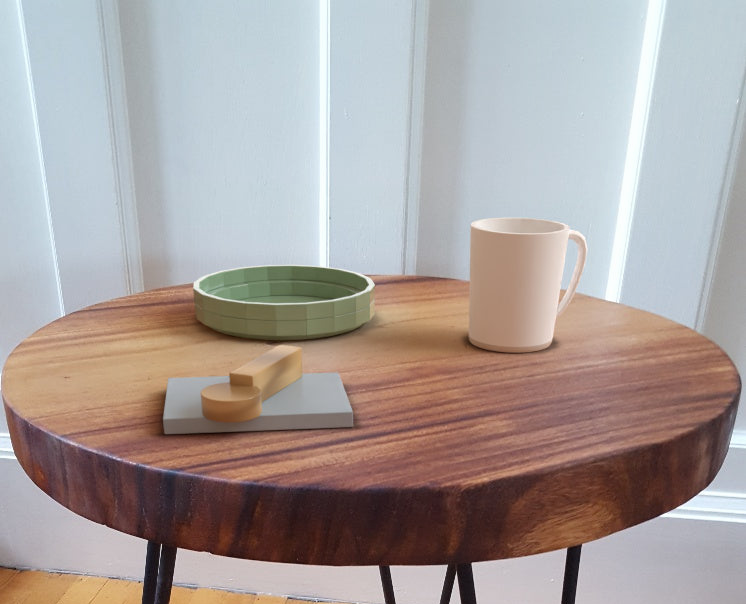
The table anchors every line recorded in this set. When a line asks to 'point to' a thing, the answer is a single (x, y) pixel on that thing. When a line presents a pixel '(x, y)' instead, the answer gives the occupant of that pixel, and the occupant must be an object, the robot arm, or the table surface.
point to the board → (279, 412)
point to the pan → (284, 301)
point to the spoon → (252, 385)
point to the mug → (519, 281)
